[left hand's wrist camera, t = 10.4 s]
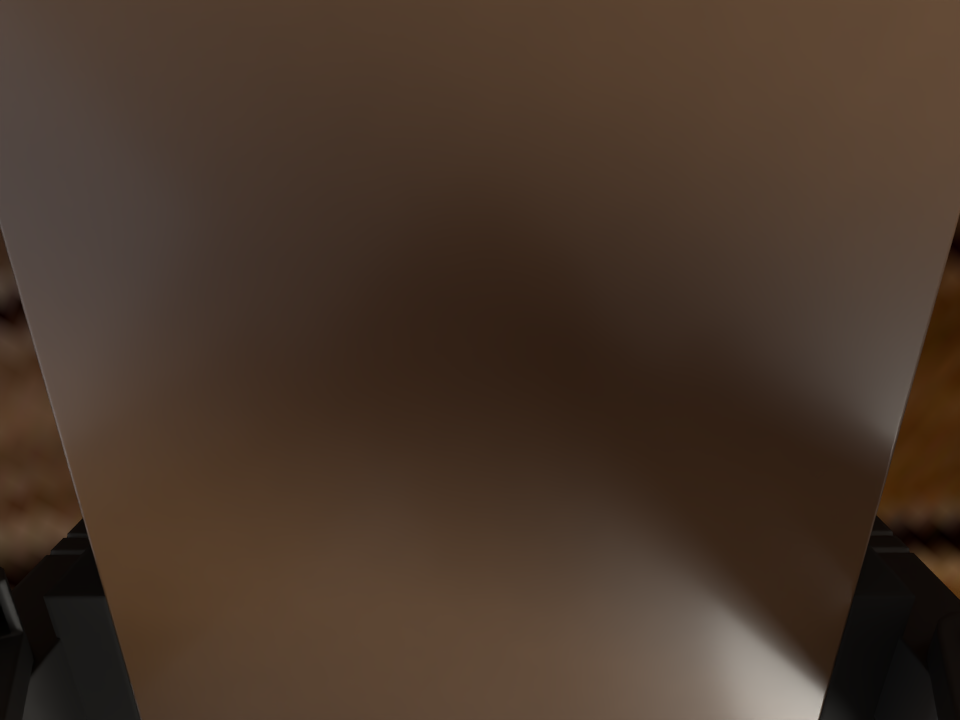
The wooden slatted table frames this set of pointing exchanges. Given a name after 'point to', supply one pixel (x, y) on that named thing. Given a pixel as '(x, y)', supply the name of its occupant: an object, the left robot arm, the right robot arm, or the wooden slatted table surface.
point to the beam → (479, 338)
